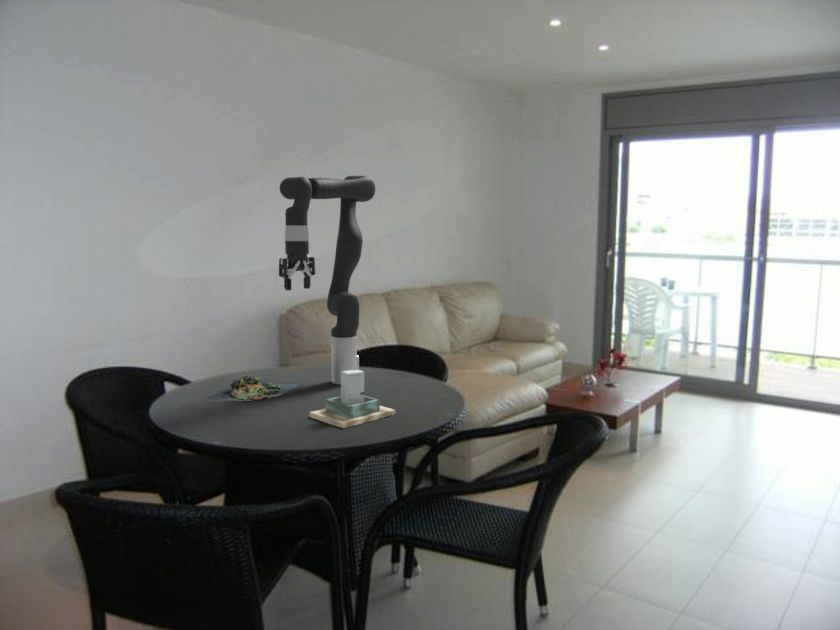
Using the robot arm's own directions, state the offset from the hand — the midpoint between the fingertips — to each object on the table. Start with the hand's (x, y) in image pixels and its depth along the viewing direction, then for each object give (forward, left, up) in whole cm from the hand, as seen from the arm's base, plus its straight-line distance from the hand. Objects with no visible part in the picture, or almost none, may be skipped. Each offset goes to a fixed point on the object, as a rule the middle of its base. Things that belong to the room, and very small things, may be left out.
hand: (297, 289), depth 218 cm
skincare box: (+2, +30, -35) cm, 46 cm away
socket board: (+2, +30, -36) cm, 47 cm away
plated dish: (+8, -16, -37) cm, 41 cm away
